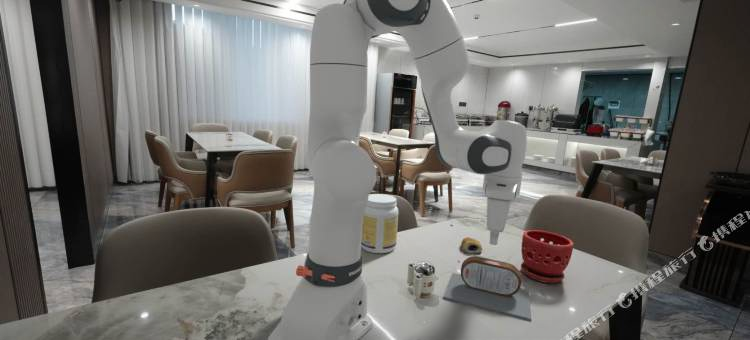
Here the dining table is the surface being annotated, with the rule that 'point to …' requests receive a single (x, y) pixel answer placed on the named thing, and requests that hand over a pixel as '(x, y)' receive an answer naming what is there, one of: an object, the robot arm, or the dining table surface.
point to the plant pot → (545, 255)
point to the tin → (491, 276)
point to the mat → (489, 299)
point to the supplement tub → (380, 224)
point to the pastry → (471, 245)
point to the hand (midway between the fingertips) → (494, 237)
